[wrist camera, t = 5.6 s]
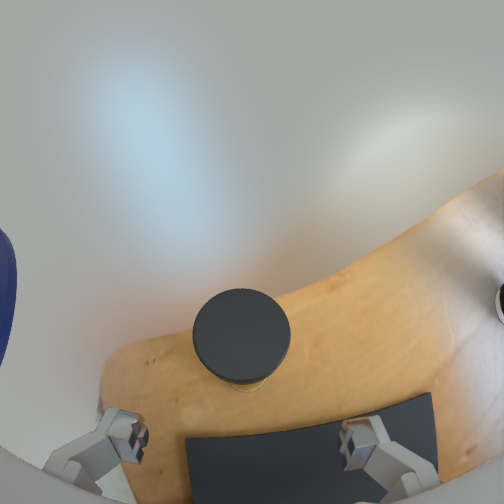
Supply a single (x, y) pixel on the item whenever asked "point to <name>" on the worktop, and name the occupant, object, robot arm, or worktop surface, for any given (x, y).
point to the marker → (241, 337)
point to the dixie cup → (500, 303)
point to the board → (302, 461)
